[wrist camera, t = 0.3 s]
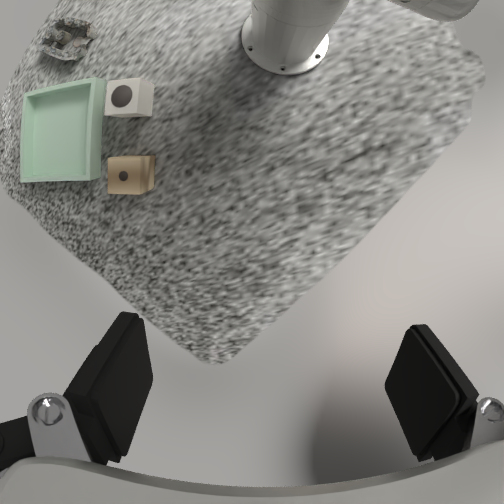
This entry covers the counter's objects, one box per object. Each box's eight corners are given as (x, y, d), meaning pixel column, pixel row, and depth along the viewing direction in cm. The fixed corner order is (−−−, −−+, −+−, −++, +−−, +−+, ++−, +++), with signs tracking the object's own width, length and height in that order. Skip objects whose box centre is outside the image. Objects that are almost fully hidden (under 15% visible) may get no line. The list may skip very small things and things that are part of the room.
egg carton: (104, 29, 33) (93, 22, 29) (80, 67, 35) (68, 62, 31) (66, 18, 31) (54, 12, 27) (45, 53, 33) (32, 49, 29)
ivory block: (125, 87, 37) (107, 80, 31) (154, 85, 37) (140, 77, 31) (122, 117, 38) (103, 115, 33) (151, 116, 39) (136, 112, 33)
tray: (35, 94, 36) (24, 93, 32) (106, 80, 36) (96, 76, 33) (32, 179, 41) (20, 182, 38) (100, 177, 42) (90, 180, 38)
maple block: (125, 155, 41) (107, 157, 35) (155, 155, 41) (140, 157, 35) (125, 186, 42) (107, 193, 37) (154, 187, 42) (139, 194, 37)
